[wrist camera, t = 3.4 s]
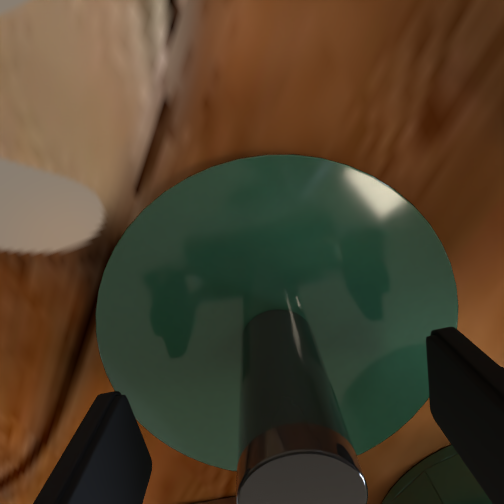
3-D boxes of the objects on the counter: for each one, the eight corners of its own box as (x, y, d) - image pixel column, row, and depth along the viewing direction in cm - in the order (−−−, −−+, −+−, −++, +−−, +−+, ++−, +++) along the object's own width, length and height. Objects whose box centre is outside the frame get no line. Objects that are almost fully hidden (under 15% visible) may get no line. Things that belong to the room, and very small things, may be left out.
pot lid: (53, 198, 12) (-194, 269, 5) (435, 114, 11) (712, 71, 5) (162, 474, 16) (102, 711, 9) (447, 425, 16) (601, 642, 9)
